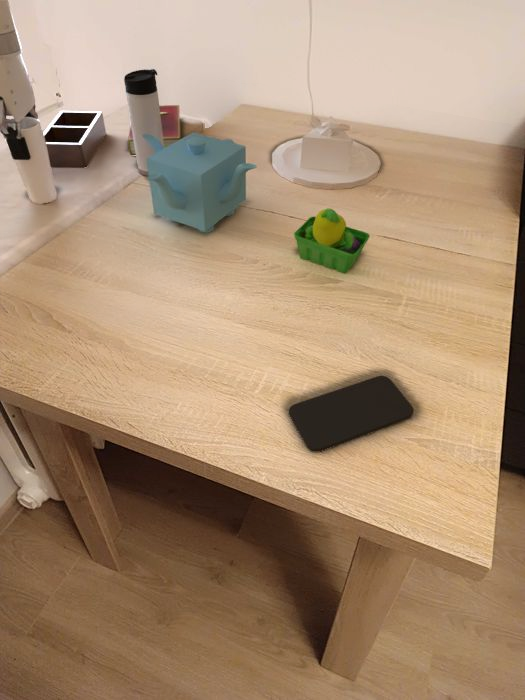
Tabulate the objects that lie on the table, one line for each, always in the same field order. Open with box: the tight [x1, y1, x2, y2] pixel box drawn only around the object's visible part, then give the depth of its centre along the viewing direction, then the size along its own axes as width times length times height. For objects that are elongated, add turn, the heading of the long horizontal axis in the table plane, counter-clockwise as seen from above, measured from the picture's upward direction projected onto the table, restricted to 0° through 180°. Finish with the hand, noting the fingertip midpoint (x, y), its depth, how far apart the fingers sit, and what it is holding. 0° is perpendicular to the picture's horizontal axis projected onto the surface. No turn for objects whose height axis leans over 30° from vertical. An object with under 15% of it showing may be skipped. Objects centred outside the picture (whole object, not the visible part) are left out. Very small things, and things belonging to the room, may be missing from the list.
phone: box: [288, 375, 415, 452], centre depth 64 cm, size 7×1×15 cm
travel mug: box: [123, 68, 164, 177], centre depth 105 cm, size 6×7×20 cm
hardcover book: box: [127, 104, 182, 156], centre depth 123 cm, size 12×21×4 cm, turn 7°
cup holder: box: [43, 110, 107, 169], centre depth 117 cm, size 10×19×5 cm, turn 0°
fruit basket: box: [293, 208, 370, 275], centre depth 84 cm, size 11×9×11 cm
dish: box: [271, 115, 382, 190], centre depth 112 cm, size 25×25×11 cm
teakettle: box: [142, 131, 258, 233], centre depth 93 cm, size 19×19×15 cm
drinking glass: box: [4, 117, 58, 205], centre depth 96 cm, size 7×7×15 cm
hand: (28, 149), depth 95 cm, fingers closed on drinking glass, 6 cm apart
